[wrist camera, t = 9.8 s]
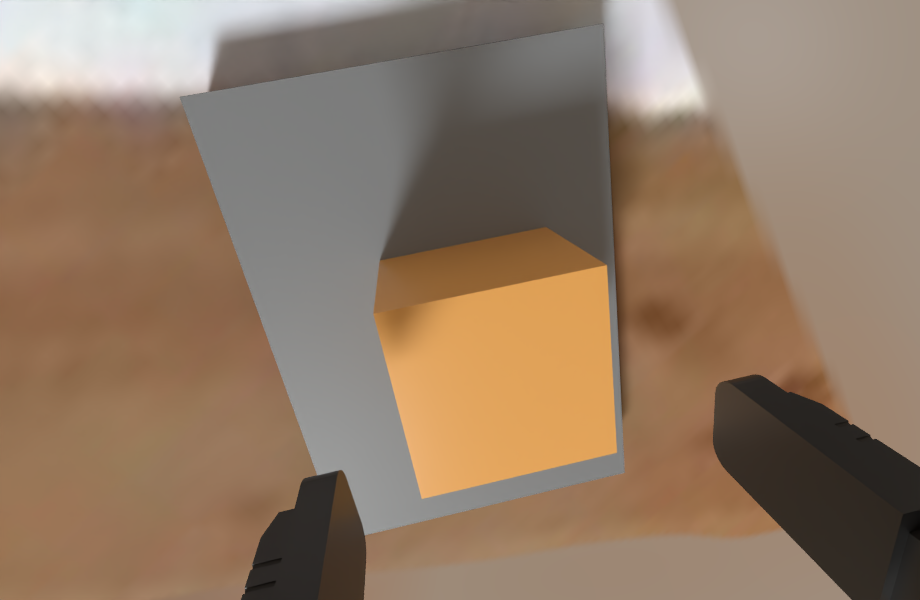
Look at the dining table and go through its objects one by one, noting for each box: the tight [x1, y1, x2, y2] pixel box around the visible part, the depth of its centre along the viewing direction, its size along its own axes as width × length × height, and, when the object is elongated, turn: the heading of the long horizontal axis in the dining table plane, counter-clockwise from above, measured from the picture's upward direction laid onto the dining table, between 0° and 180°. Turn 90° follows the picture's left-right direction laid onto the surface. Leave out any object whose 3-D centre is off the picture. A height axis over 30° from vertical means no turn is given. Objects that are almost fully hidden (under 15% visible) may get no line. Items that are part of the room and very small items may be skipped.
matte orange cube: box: [373, 227, 617, 499], centre depth 15 cm, size 6×6×5 cm
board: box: [180, 24, 625, 535], centre depth 16 cm, size 18×13×6 cm
